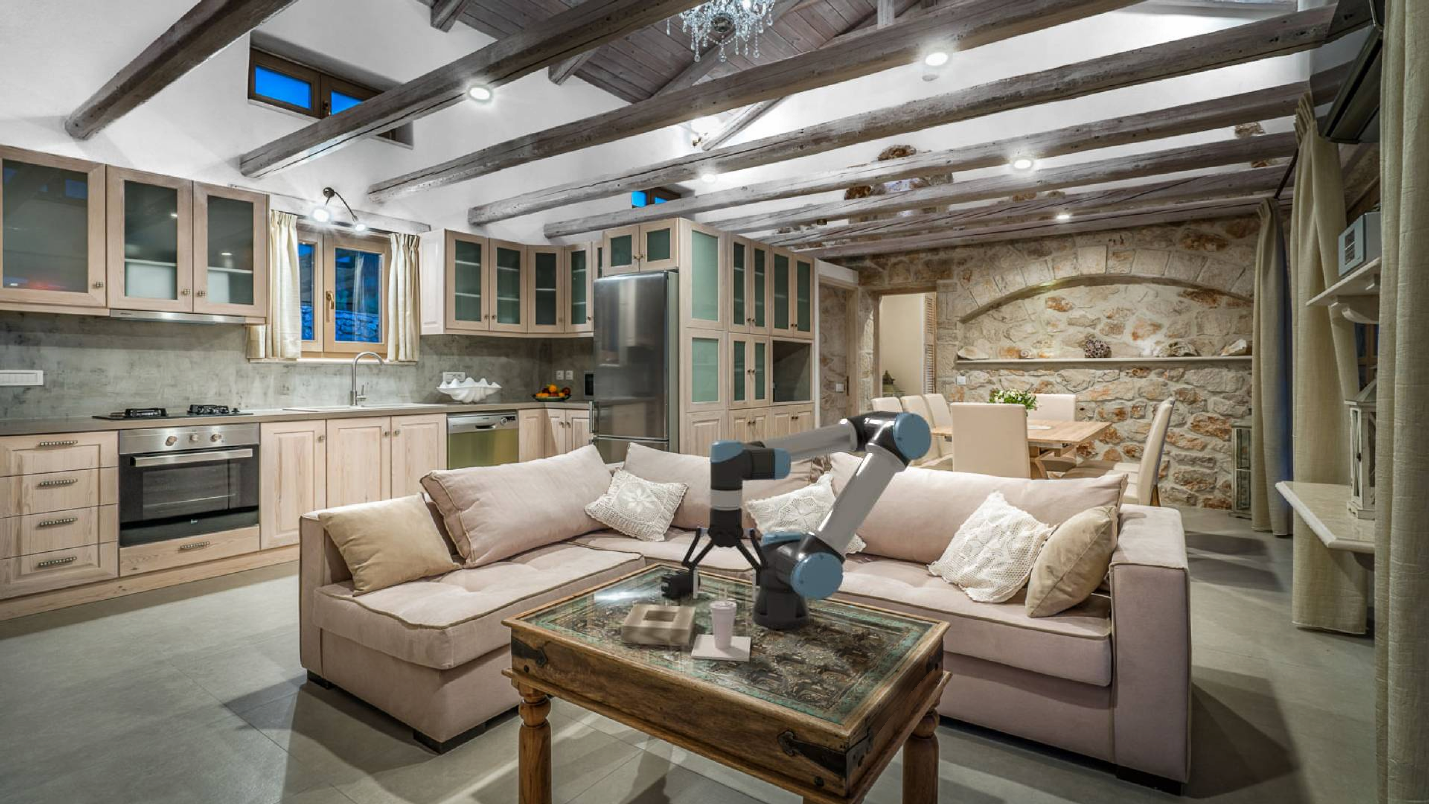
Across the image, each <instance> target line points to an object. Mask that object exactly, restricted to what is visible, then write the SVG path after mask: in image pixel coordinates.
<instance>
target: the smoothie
mask: <svg viewBox="0 0 1429 804" xmlns="http://www.w3.org/2000/svg"><path fill="white" fill-rule="evenodd" d="M723 597H724V598H723V600H715V601H712V602H710V603H709V610H710V611H711V612H710V615H711V623H712V624H711V625H712V633H713V634H712V635H714V643H715V647H716V648H718V649H728V648H730V647H731V639H732V636H733V632H734V625H735V618H736V617H735V616H736V611H737V609H738V608H737V603H736V602H733V601H730V600H728V585H724V596H723Z"/></svg>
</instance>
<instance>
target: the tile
mask: <svg viewBox="0 0 1429 804" xmlns="http://www.w3.org/2000/svg"><path fill="white" fill-rule="evenodd" d="M750 651H751V637H750V636H735V635H732V639H731V647H730V648H728V649H718V648H716V647H715V643H714V634H704V633H703V634H702V633H697V634H696V637H695V640H694V645H693V647H692V651H691V654H690V658H691V659H699V660H700V659H701V660H702V659H703V660H717V661H718V660H719V661H720V660H721V661H732V662H733V661H734V662H748V663H749V662H750Z"/></svg>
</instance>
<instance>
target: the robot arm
mask: <svg viewBox="0 0 1429 804" xmlns="http://www.w3.org/2000/svg"><path fill="white" fill-rule="evenodd" d="M932 437H933V436H932V435H931V428H930V426H929V423H928V422H927V420H926V419H925V418H924V417H922V416H921V415H919V413H918V414H917V413H915V412H914V413H911V412H909V411H901V412H900V411H898V412H897V411H886V410H885V411H884V410H877V411H876V410H875V411H871V412H866V413H862V414H859V415H855V416H850V417H847V418H842V419H840V420H839V421H838V422H837V424H832V425H827V426H823V427H817V428H812V429H807V430H803V431H797V432H792V433H787V434H784V435H779V436H773V437H769V438H768V437H767V438H764V439H760V440H755V441H754V440H753V441H750V442H745V443H744V442H742V441H741V440H735V439H733V440H732V439H719V440H718V439H717V440H715V441H713V442H712V443H711V449H710V455H709V457H710V458H709V462H710V463H709V464H710V469H709V471H710V478H709V479H710V486H709V487H710V488H709V505H710V506H711V507H710V508H709V525H708V526H709V527H704V526H702V525H698V526H697V527H696V529H695V533H694V534H695V535H694V539H693V540H692V542H691V544H690V546H689V548H688V550H687V552H686V554H685V555H684V557H683V560H682V562H681V564H680V565H681V566H682V568H687V569H688V571H689V582H690V583H694V589H693V595H692V599H697V598H698V596H699V588H698V574H699V567H697V566H698V565H699V564H700V562H701V561H702V560H703V559H704V558H705V557H706V556H707V554H709V552H710V551H711V550H713V548H714V547H718V548H719V549H722V548H729V549H732V548H734V547H735V548H736V549H737V550H738V551H739V552H740V554H741V555H742V556H743V557H744V558H745V559H746V561H747V562H748V563H749V564H750V566H752V579H751V580H752V583H751V585H752V588H751V589H752V591H751V592H752V593H751V601H752V602H754V604H753V607H752V610H751V611H752V612H751V613H752V615H751V618H752V621H754V622H755V623H757V625H760V626H762V627H766V628H771V629H776V630H777V629H778V630H795V629H799V628H800V629H801V628H803V627H802V626H804V627H805V625H806V626H808V625H809V624H810V621H809V620H811V619H810V617H811V616H810V614H811V613H810V609H809V606H808V602H807V599H809V600H812V601H821V600H822V601H823V600H826V599H829V598H830V597H831V596H833V595H834V594H836V593H837V591H839V589H840V587H841V586H842V583H843V580H844V574H843V573H844V568H843V566H844V564H845V562H846V561H847V556H846V550H847V547H848V546H849V545H850V543H851V541H852V540H853V539H854V537H855V536H856V534H857V532H858V531H859V529H860V528H861V526H862V525H863V524H864V522H865V520H867V519H866V518H868V516H869V514H870V513H871V511H872V510H873V508H874V506H875V505H876V503H878V501H879V499H880V497H881V496H882V495H883V493H884V492H885V490H886V488H887V487H888V485H889V484H890V483H891V480H892V479H893V478H894V476H895V475H896V474H897V473H904V472H905V470H906V469H907V468H908V466H909V465H910V463H911V462H912V461H915V460H917V461H918V460H919V459H923V458H924V457H925V456H926V455H927V454H928V453H929V451H930V449H931V446H932V445H931V444H932ZM841 452H844V453H846V454H854V453H865V456H864V457H863V459H862V461H860V463H859V465H858V466H857V468H856V470H855V471H854V472H853V474H852V475H851V477H850V479H848V481H847V483H846V484H845V486H844V487H843V488H842V490H841V492H840V493H839V494H838V496H837V497H836V499H835V500H834V502H833V503H832V504H831V507H829V509H828V510H827V512H826V513H825V515H824V516H823V517H822V520H821V521H820V523H819V524H818V525H817V527H816V529H813V530H807V531H806V532H805V533H804V532H798V531H773V532H766V533H764V534H763V535H762V536H761V540H760V543H759V541H758V538H757V536H756V528H755V527H752V526H751V527H750V528H745V529H744V528H743V509H742V508H741V507H742V506H743V489H744V488H743V484H744V482H748V481H777V480H784V479H786V478H788V477H789V475H790V473H791V470H792V463H797V462H800V461H805V460H810V459H813V458H818V457H823V456H828V455H833V454H837V453H841ZM706 534H707V535H708V536H709V538H710V540H709V542H708V543H707V544H706V545H705V546H704V548H702V550H700V552H699V553H698V554H697V555H696V557H694V559H692V560H691V561H690V559H691V557H692V556H693V553H694V552H695V549H696V547H697V546H698V543H699V542H700V540H701V538H703V537H705V535H706ZM744 535H745V536H746V538H747V539H750V542H751V544H752V546H753V549H754V550H755V553H756V555H757V556H758V559H759V561H758V560H757V559H756V558H755V557H754V555H753V554H752V553H751V552H750V551H749V549H748V548H747V547H746V545H745V544H744V543H743V541H742V540H741V539H742V537H744ZM758 586H759V590H758V593H756V592H757V591H756V590H757V589H756V587H758ZM756 594H757V595H756Z"/></svg>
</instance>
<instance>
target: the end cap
mask: <svg viewBox="0 0 1429 804" xmlns="http://www.w3.org/2000/svg"><path fill="white" fill-rule="evenodd" d="M660 581H661V582H662V583H665V584H667V586H665V585H660V591H661V592H662V593H661V597H663V598H666V599H669V600H673V599H677V598H680V597H683V596H686V595H689V594H692V593H693V589H694V583H690V582H689V570H683V569H679V570H676V571H675V573H674V574H672V573H670V572H668V573H664V574H662V575H661V580H660ZM701 584H702V582H701V577H700V574H699V573H698V589H700V587H701Z"/></svg>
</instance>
